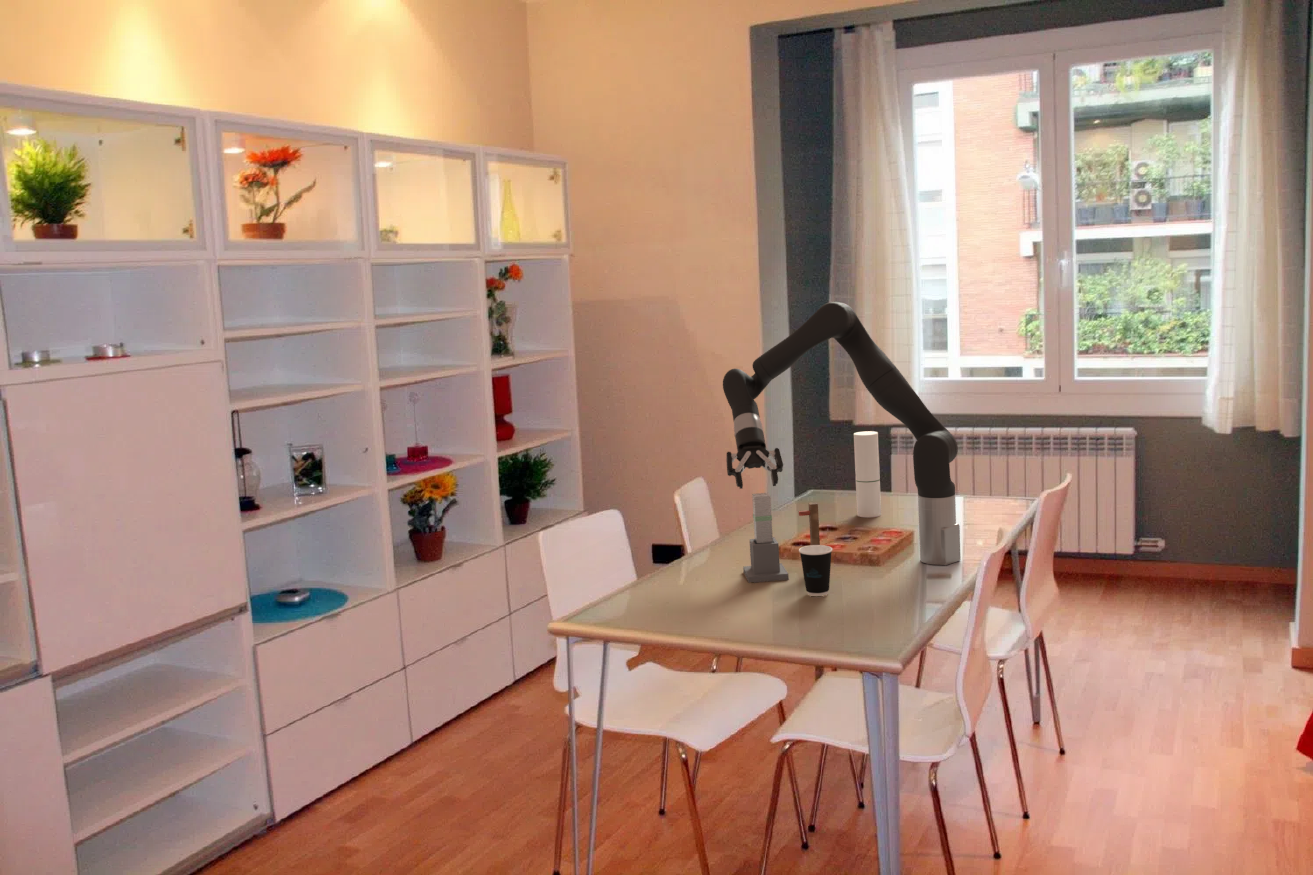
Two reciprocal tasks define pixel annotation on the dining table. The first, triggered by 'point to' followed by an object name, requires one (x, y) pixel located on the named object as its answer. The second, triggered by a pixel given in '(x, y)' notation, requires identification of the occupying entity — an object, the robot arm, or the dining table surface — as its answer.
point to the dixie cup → (816, 568)
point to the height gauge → (813, 522)
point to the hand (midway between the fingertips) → (758, 485)
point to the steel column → (762, 518)
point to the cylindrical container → (867, 474)
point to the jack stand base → (765, 563)
